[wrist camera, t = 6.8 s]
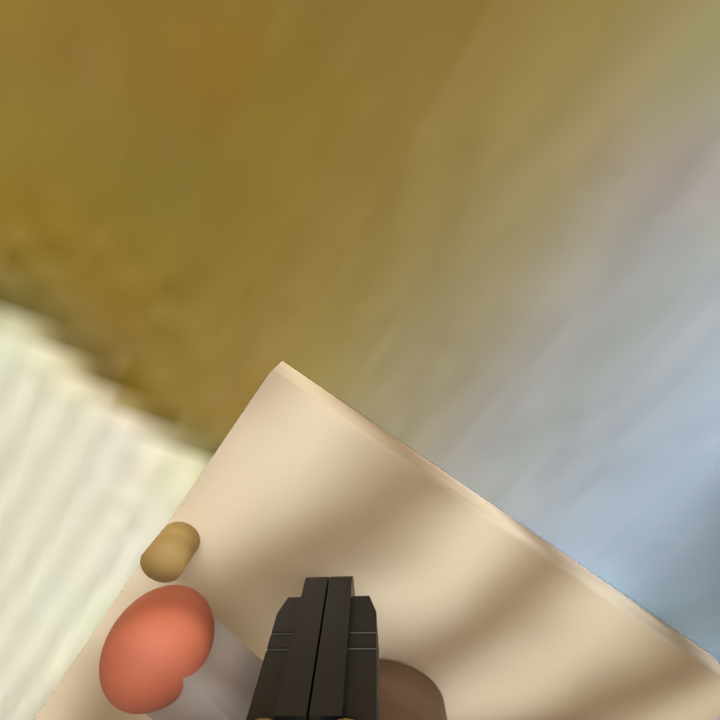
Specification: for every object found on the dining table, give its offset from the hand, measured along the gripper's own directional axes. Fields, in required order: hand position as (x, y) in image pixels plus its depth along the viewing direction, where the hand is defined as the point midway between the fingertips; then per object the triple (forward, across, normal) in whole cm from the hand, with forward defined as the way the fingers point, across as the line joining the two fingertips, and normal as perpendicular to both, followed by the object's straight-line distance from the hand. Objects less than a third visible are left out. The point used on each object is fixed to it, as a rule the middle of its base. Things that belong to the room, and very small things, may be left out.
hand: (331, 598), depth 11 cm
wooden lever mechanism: (+3, -1, +8) cm, 8 cm away
